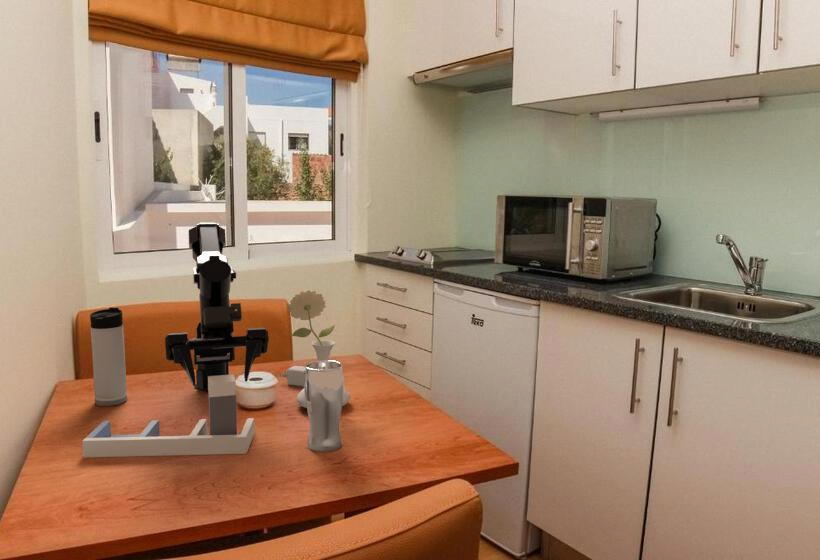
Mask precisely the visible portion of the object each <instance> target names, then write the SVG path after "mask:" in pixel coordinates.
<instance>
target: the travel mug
mask: <svg viewBox="0 0 820 560" xmlns="http://www.w3.org/2000/svg"><path fill="white" fill-rule="evenodd" d="M123 317H124V316H123V310H122V309H120V308H119V307H109V308H105V309H101V310H100V309H99V310H96V311H93V312H91V313H90V315H89V320H90V339H91V340H90V341H91V343H90V344H91V354H92V356H91V358H92V359H91V360H92V372H93V373H92V375H93V390H94V391H93V392H94V403H95V404H96V406H100V407H112V406H117V405H122V404H123V403H125V402H126V401H127V400H128V391H127V390H128V389H127V388H128V386H127V373H126V354H125V353H126V350H125V334H124V321H123V320H124V319H123Z"/></svg>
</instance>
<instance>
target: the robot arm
mask: <svg viewBox="0 0 820 560" xmlns="http://www.w3.org/2000/svg"><path fill="white" fill-rule="evenodd" d="M226 237H227V236H226V229H225V228H223V227H221V226H220V224H219V223H217V222H199V223H196V226H194V227H191V228H190V229H188V249H191V250H192V251H191V252H192V254H191V255H192V259H193V260H194V261H195V262H196V263H195V264H196V266H193V267H192V274H193V275H192V276H193V277H192V278H193V284H194V285H197V290H199V309H200V310H199V311H200V312H199V313H200V314H199V315H200V322H198V325H197V327H196V330H195V333H196V334H195V335H196V337H193V338H188V332H187V331H186V332H172V333H171V332H170V333H167V335H166V336H165V338H164V340H165V341H164V346H165V348H164V349H165V359H166V360H167V361H171V362H172V361H173V363H174V364H175V365H176V364H179V365H180V366H181V367H182V369H183V370H184V371H185V373H186V375H187V377H188V379H189V380H190V383H191V384H192V386H193V387H194V388H195V389H198V390H199V389H200V390H202V391H205V392H208V376H219V375H230V373H229V370H230V369H229V367H230V366H229V363H233V361H235V351H236V348H242V347H245V357H244V358H245V359H244V370H243V371H244V372H243V373H244V375H243V376H244V377H243V379H244V382H245V383H246V382H248V381H249V376H250V372H251V369H252V365H253V363H254V361H255V360H256V358H260V357H261V355H262V354H265V353H267V352H268V346H269V340H270V339H269V338H270V337H269V330H267V329H266V328H265V327H255V328H254V327H253V328H246V333H245V334H246V335H242V336H239V335H238V336H233V334H234V322H241V321H242V313H243V312H242V305H241V302H237V303H235V302H234V303H230V291H231V284H232V283H233V282H234V280H235V279H237V272H236V271H235V270H234V269H233V268H232V267H233V266H232V265H229V262H228V257H227V256H226V255H224V254H223V249H225V248H226V244H227V240H226ZM192 351H193V359H192V353H191V352H192ZM194 365H195V366H196V367H197V368H196V370H195V368H194Z"/></svg>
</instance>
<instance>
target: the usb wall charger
mask: <svg viewBox="0 0 820 560" xmlns="http://www.w3.org/2000/svg"><path fill="white" fill-rule="evenodd" d="M305 369H306V367H305V366H301V365H293V366H291V367H288V369H287V371H284V373H279V376H280V378H281V377H282V378H286V379H287V385H288V386H293V387H300V386H301V387H302V388H304V387H305Z"/></svg>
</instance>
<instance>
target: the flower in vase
mask: <svg viewBox="0 0 820 560" xmlns="http://www.w3.org/2000/svg"><path fill="white" fill-rule="evenodd" d="M289 302H290V303H289V304H288V305H287V309H288V312H289V313H290V316H291V317H292V318H294V319H300V321H309V327H310V329H309V328H306V327H300V328H298V329H296V330H295V331H294V332H292V334H291V336H292V337H298V338H307V337H308V336H309V335H310V334H313V335H314V336H315V338H316V339H317V340H314V341H312V342H311V343H310V344H311V346H312V347H313V349H314V351H315V353H316V358H317V361H319V360H330V355H331V351H332V349H333V347H334V346H335V344H336V342H335V341H334V340H328V339H323V340H322V339H320V338H325V337H327V336H329V335H330V334H332V332H333V330H334V329H335V324H334V325H332V326H330V327H326V328H325V329H322V330H321V331H320V332H319V333H318V335H317V334H316V333H315V330H313V326H312V321H311V319H315V317H318V316H319V317H320V316H321V313H323V312H324V309H326V308H327V307H326V301H325V300H324V297H323V294H322V293H317V292H316V291H315V290H313V291H311V290H307V291H300V293H299V294H298V293H297V294H295V295H294V296H293V297H292V299H291V300H290V301H289ZM350 401H351V395H350V393H349V391H348V390H346V389H345V388H344V395H343V403H342V407H343V406H345V405H347V404H348V403H349V402H350ZM296 402H297V403H298V405H299V406H301V407H303V408H305V409H307V407H306V401H305V389H304V388H302V389H301V391H300V392H299V393H298V395H297V397H296Z"/></svg>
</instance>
